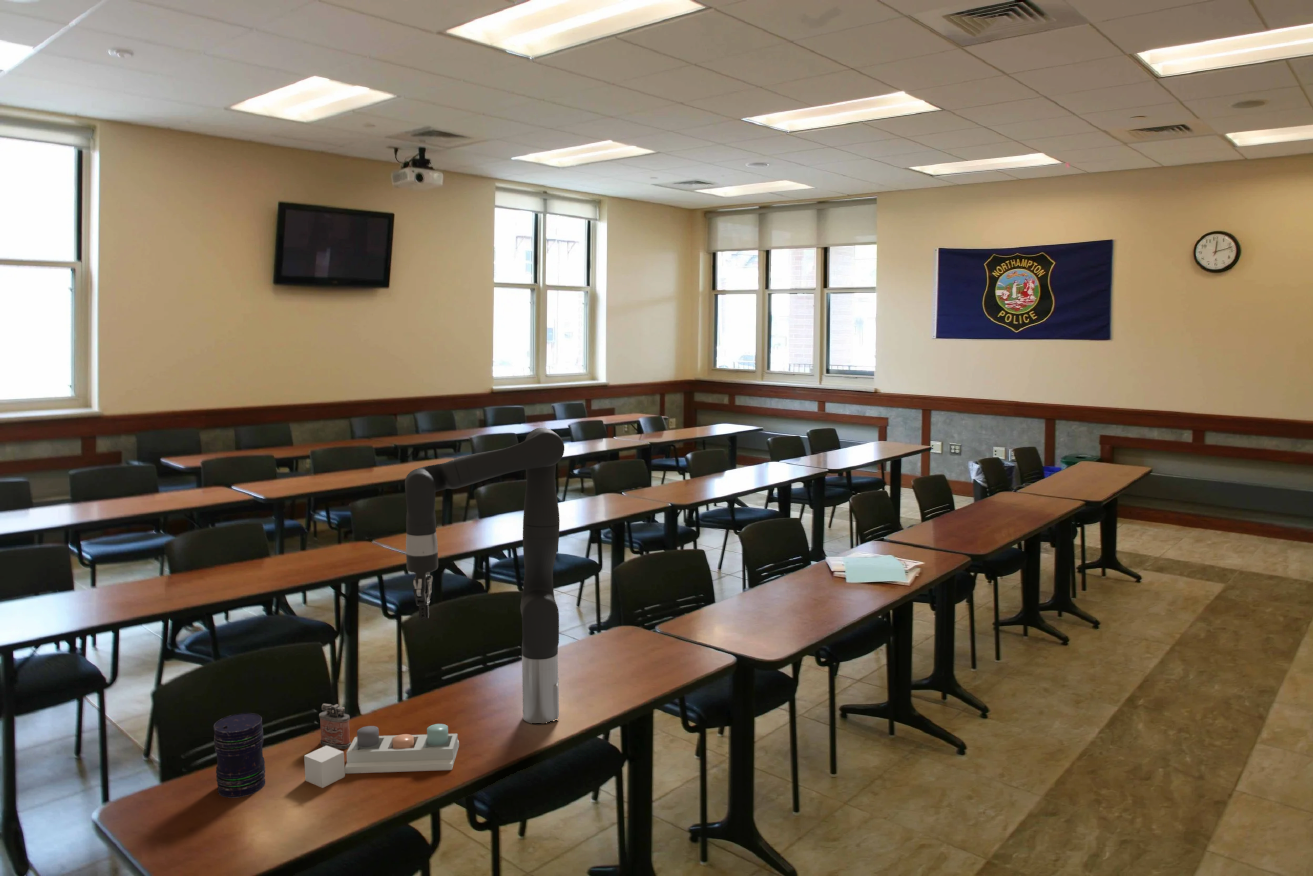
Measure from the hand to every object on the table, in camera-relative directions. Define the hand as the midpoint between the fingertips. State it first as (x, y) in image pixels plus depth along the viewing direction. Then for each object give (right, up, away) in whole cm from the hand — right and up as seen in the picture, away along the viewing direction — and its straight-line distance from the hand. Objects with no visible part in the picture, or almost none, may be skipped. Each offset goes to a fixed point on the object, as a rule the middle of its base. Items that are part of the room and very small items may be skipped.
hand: (424, 619), depth 228 cm
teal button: (+6, -26, -11) cm, 29 cm away
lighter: (-21, -30, -4) cm, 36 cm away
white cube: (-17, -32, -20) cm, 42 cm away
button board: (-2, -31, -11) cm, 33 cm away
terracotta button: (-2, -29, -12) cm, 31 cm away
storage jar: (-34, -33, -24) cm, 53 cm away
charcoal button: (-10, -26, -13) cm, 31 cm away
